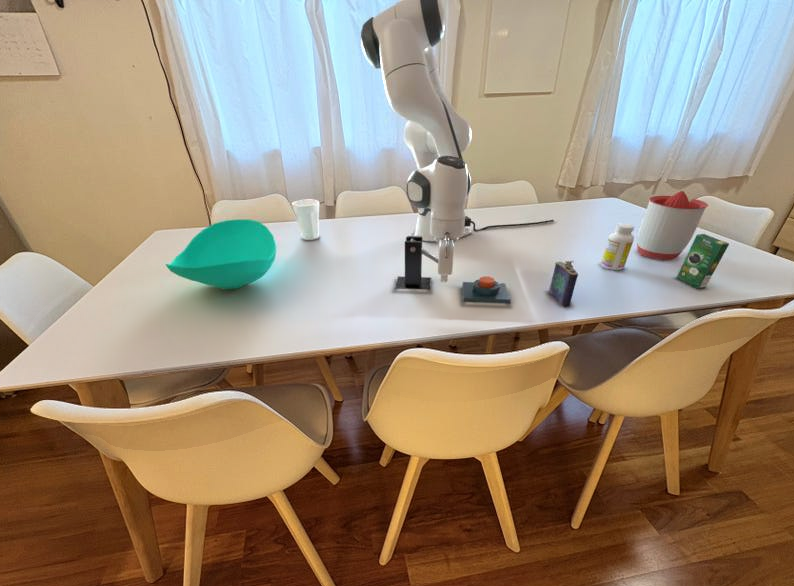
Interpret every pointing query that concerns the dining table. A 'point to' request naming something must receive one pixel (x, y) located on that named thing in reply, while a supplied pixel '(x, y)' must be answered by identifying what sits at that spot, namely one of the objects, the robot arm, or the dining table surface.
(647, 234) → the citrus juicer
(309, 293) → the dining table surface
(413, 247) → the bracket
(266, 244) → the table top decor
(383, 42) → the robot arm
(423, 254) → the lever
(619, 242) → the supplement bottle
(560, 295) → the flask
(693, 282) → the coffee box
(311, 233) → the cup
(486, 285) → the button
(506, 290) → the button box
